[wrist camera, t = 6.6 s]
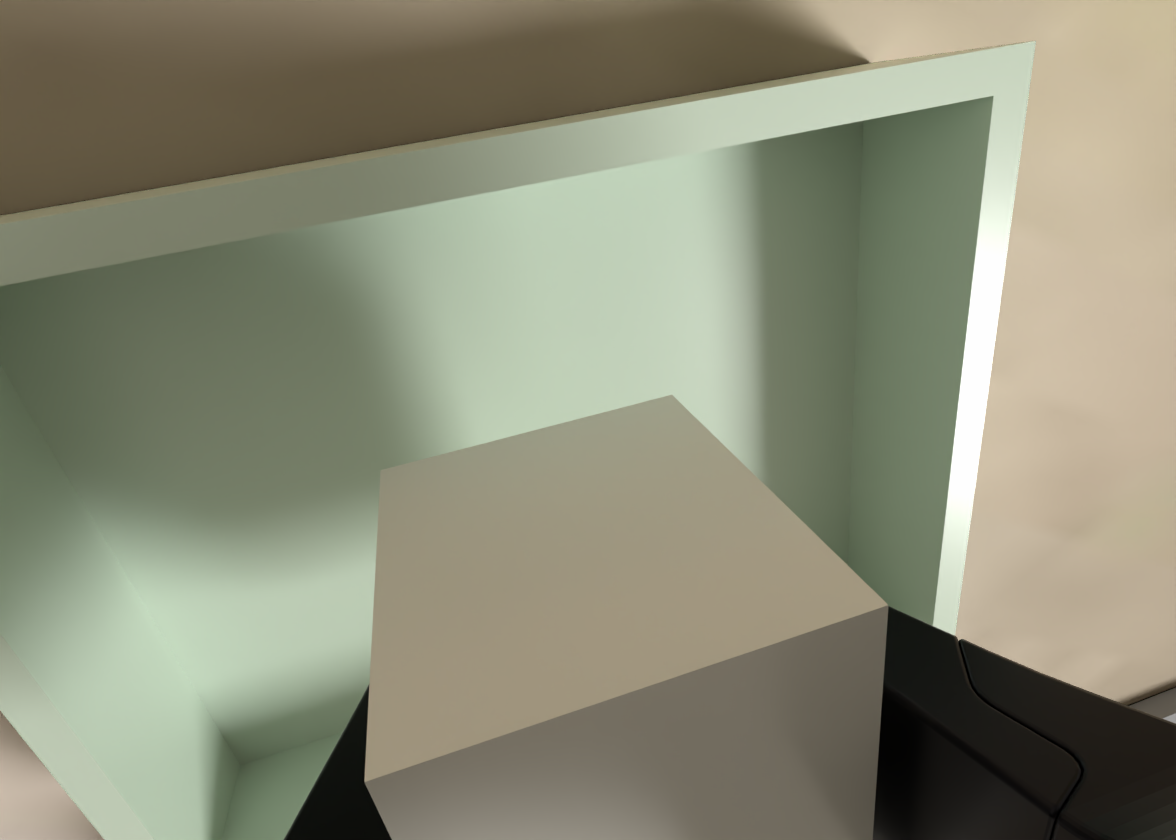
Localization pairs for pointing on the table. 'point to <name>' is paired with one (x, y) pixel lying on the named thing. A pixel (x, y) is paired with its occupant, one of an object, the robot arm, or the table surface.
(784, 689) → the cream block
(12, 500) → the bin
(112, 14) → the table surface
